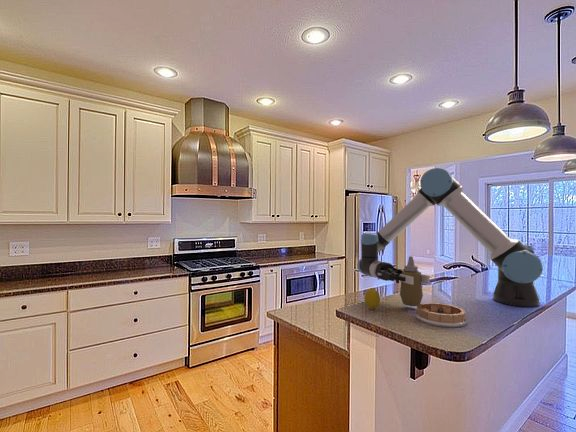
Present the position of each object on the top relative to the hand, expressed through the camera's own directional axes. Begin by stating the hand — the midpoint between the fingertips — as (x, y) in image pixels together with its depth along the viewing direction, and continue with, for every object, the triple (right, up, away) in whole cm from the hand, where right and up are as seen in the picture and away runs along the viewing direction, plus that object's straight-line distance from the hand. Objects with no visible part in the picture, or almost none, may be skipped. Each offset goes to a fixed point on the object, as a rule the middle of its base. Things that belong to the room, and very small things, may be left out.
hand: (420, 280), depth 111 cm
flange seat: (+3, -11, -9) cm, 15 cm away
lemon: (-17, -12, +3) cm, 21 cm away
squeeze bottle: (-2, -10, +5) cm, 11 cm away
